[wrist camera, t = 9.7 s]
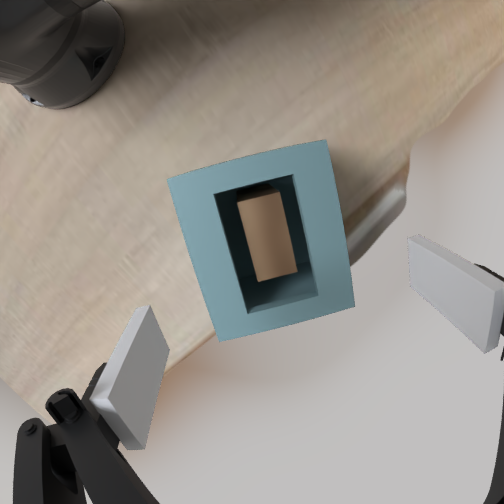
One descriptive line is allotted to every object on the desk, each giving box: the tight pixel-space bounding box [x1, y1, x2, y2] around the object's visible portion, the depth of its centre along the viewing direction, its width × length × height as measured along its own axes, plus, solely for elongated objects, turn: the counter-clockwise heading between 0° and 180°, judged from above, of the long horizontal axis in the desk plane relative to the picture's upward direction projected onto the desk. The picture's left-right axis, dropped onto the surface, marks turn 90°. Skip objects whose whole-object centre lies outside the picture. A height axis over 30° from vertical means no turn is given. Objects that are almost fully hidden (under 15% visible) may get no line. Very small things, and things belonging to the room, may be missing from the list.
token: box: [236, 183, 298, 282], centre depth 30 cm, size 4×7×9 cm, turn 14°
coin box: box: [167, 140, 355, 342], centre depth 30 cm, size 12×14×12 cm
